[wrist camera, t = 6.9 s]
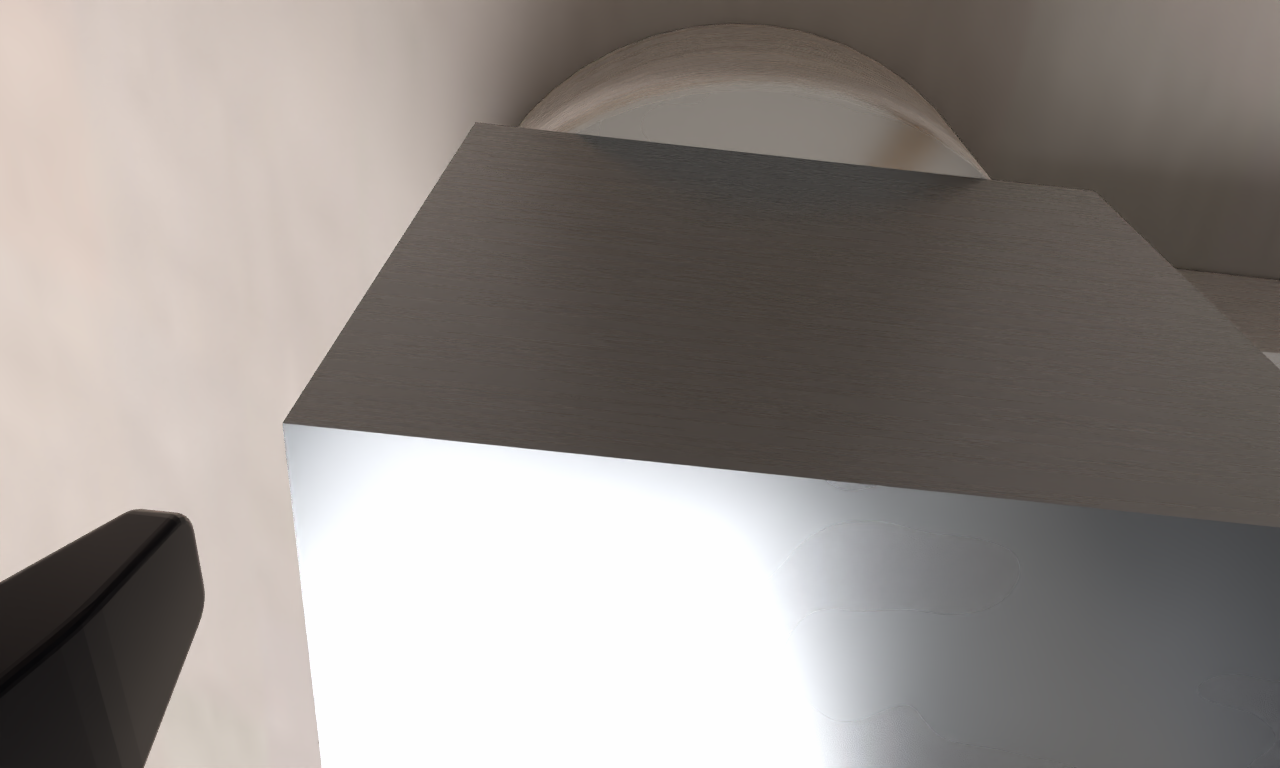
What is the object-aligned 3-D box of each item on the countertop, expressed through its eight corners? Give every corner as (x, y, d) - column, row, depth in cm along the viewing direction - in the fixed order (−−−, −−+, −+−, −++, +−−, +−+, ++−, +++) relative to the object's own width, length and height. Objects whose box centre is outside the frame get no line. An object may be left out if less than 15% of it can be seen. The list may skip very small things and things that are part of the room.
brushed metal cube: (933, 632, 12) (1070, 1091, 8) (471, 585, 12) (352, 1026, 8) (1094, 191, 9) (1463, 546, 5) (475, 122, 9) (281, 421, 5)
